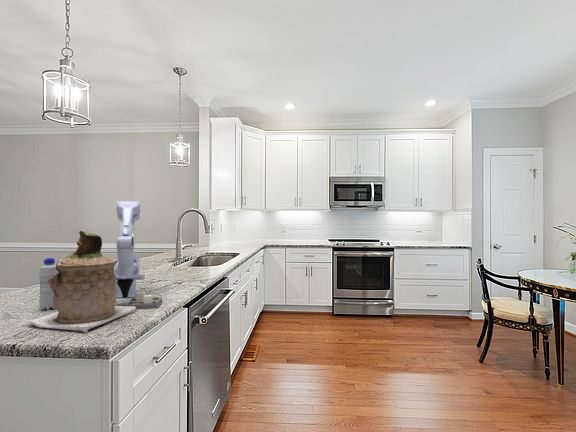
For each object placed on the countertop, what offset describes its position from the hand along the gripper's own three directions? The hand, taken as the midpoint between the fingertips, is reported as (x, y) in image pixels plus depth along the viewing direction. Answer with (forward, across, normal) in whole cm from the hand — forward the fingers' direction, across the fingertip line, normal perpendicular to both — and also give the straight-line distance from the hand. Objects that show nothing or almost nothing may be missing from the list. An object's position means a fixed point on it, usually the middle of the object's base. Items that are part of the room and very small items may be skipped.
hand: (125, 297), depth 130 cm
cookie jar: (+3, -8, -16) cm, 18 cm away
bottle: (+3, -27, -1) cm, 28 cm away
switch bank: (+3, +8, -3) cm, 9 cm away
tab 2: (+2, +10, -6) cm, 12 cm away
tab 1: (+2, +6, 0) cm, 6 cm away
